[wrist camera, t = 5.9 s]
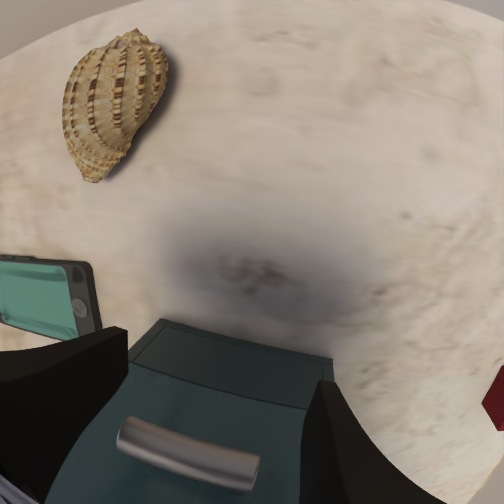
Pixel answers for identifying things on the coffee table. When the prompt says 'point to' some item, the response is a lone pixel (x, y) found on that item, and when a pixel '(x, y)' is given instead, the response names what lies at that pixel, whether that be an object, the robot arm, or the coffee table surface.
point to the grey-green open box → (231, 364)
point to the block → (496, 401)
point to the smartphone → (48, 297)
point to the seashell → (111, 101)
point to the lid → (183, 448)
